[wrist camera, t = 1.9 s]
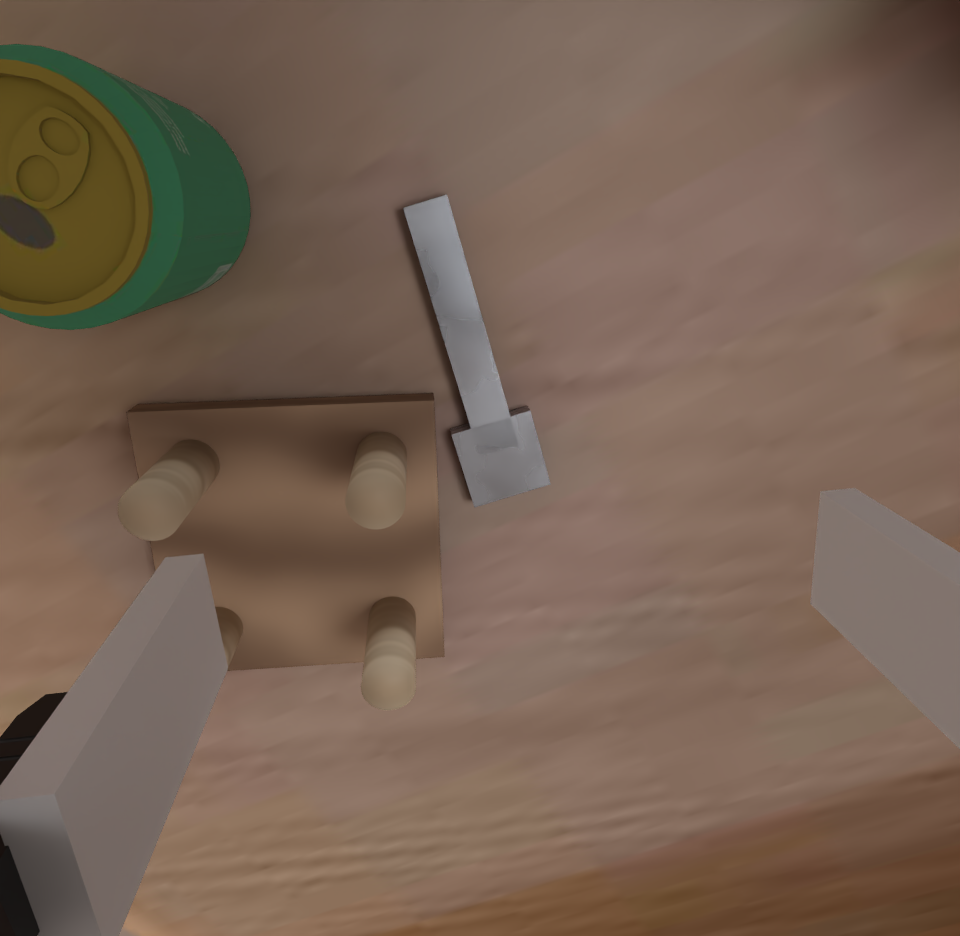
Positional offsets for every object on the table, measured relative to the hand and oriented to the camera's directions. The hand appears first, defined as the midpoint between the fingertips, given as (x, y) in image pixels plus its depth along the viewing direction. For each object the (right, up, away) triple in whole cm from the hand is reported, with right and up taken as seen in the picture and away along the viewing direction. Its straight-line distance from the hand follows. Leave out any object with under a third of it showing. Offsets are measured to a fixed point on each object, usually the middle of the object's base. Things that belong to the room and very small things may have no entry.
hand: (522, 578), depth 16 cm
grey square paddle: (-1, +8, +20) cm, 21 cm away
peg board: (-10, -1, +22) cm, 24 cm away
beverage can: (-15, +14, +17) cm, 26 cm away
